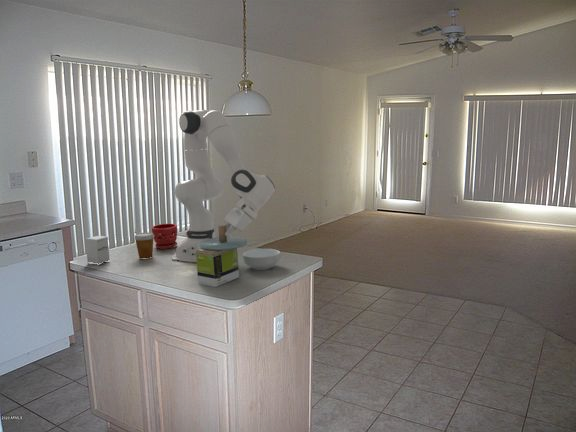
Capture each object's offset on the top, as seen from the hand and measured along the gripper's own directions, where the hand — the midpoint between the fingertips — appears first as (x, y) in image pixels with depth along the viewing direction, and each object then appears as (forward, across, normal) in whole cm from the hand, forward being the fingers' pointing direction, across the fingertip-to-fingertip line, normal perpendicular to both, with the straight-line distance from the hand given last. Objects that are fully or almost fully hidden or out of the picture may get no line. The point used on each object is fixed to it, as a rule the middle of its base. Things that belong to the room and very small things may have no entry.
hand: (224, 234), depth 204 cm
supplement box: (+50, -51, -22) cm, 74 cm away
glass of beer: (+34, -51, -7) cm, 61 cm away
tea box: (+16, +2, +11) cm, 20 cm away
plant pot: (+26, -69, +2) cm, 74 cm away
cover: (+4, 0, +3) cm, 4 cm away
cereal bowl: (0, -9, +27) cm, 29 cm away
